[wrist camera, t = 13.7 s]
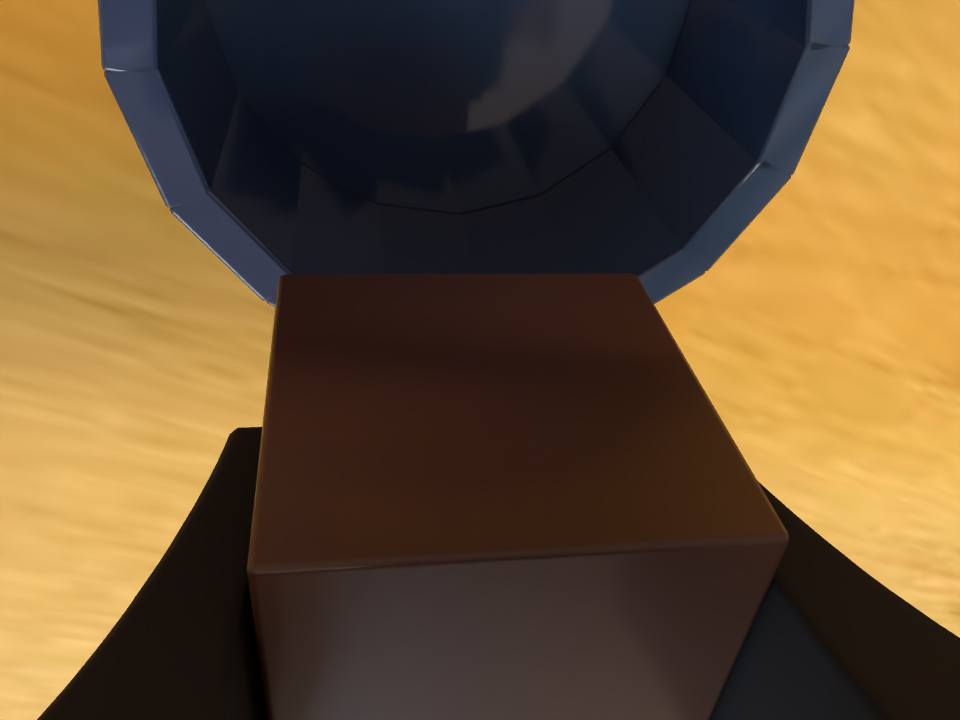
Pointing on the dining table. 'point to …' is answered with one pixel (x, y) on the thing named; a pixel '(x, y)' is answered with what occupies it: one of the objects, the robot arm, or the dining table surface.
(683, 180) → the grey open cylinder
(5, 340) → the dining table surface
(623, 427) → the walnut block
